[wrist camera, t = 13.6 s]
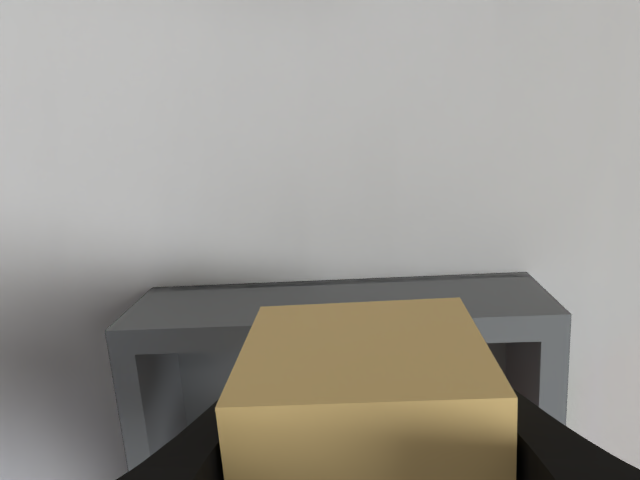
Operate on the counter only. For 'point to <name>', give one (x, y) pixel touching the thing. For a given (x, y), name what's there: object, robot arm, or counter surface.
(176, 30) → the counter surface
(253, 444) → the tan block
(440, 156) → the counter surface
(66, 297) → the counter surface
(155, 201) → the counter surface
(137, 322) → the tote
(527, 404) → the robot arm
